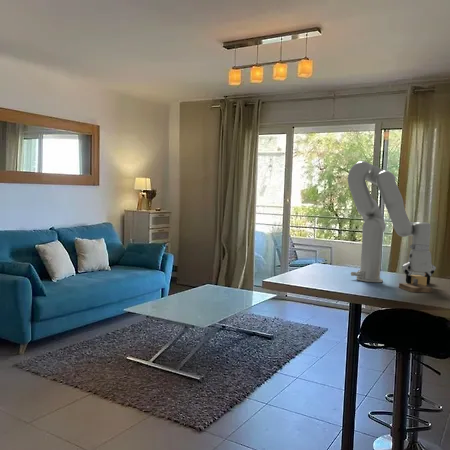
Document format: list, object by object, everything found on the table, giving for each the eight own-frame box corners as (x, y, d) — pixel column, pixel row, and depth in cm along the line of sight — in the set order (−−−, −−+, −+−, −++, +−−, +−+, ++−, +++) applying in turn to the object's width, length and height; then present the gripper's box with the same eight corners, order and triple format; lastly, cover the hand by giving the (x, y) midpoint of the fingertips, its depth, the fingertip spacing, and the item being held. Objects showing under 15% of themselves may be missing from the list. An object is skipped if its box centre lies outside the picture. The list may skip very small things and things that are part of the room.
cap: (415, 287, 214) (416, 276, 214) (408, 285, 220) (409, 274, 220) (426, 287, 215) (427, 277, 215) (419, 285, 221) (420, 275, 221)
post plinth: (411, 292, 202) (412, 280, 202) (399, 287, 212) (399, 276, 211) (431, 292, 204) (432, 281, 203) (418, 287, 213) (419, 277, 213)
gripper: (408, 248, 211) (405, 284, 212) (441, 249, 214) (438, 285, 215) (399, 246, 219) (396, 281, 220) (432, 247, 222) (429, 282, 223)
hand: (417, 283), depth 218 cm, fingers open, 9 cm apart
